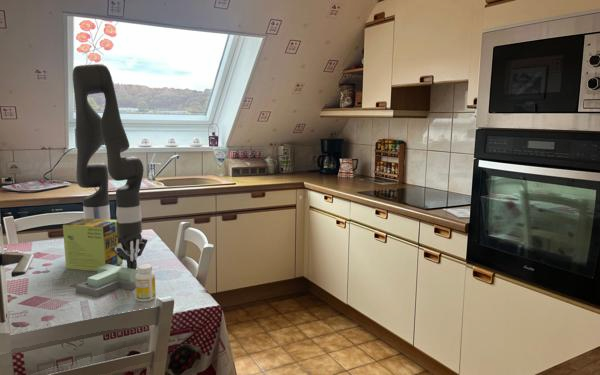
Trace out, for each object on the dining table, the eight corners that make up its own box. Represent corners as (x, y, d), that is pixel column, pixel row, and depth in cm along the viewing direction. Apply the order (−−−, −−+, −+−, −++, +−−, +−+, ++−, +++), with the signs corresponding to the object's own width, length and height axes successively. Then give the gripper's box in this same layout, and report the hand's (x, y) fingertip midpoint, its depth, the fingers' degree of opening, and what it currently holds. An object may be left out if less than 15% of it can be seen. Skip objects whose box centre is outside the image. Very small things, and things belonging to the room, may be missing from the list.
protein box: (106, 272, 162) (103, 226, 159) (65, 269, 165) (61, 224, 163) (123, 262, 172) (120, 219, 170) (84, 259, 175) (81, 217, 173)
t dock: (64, 288, 147) (64, 282, 147) (90, 278, 156) (90, 272, 155) (109, 299, 139) (109, 293, 139) (134, 288, 147) (134, 282, 147)
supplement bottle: (143, 303, 136) (141, 270, 135) (132, 298, 140) (130, 266, 138) (159, 297, 140) (158, 266, 139) (149, 293, 144) (147, 262, 142)
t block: (108, 275, 159) (107, 263, 158) (140, 282, 152) (139, 270, 152) (76, 287, 148) (75, 275, 147) (110, 295, 142) (109, 282, 141)
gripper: (136, 213, 164) (138, 263, 167) (104, 222, 152) (107, 275, 155) (152, 216, 160) (155, 266, 163) (121, 225, 149) (124, 279, 152)
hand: (132, 270), depth 159 cm, fingers closed
